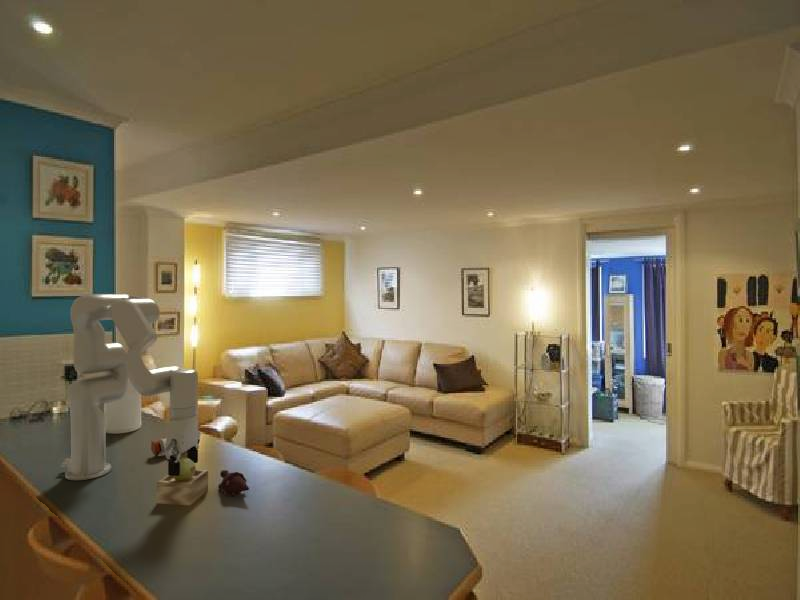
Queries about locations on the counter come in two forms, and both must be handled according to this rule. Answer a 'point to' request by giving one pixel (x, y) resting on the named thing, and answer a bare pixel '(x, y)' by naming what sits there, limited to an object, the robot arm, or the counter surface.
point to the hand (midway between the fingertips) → (183, 468)
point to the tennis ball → (185, 470)
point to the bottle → (124, 412)
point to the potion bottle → (158, 446)
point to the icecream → (232, 483)
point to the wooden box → (182, 489)
